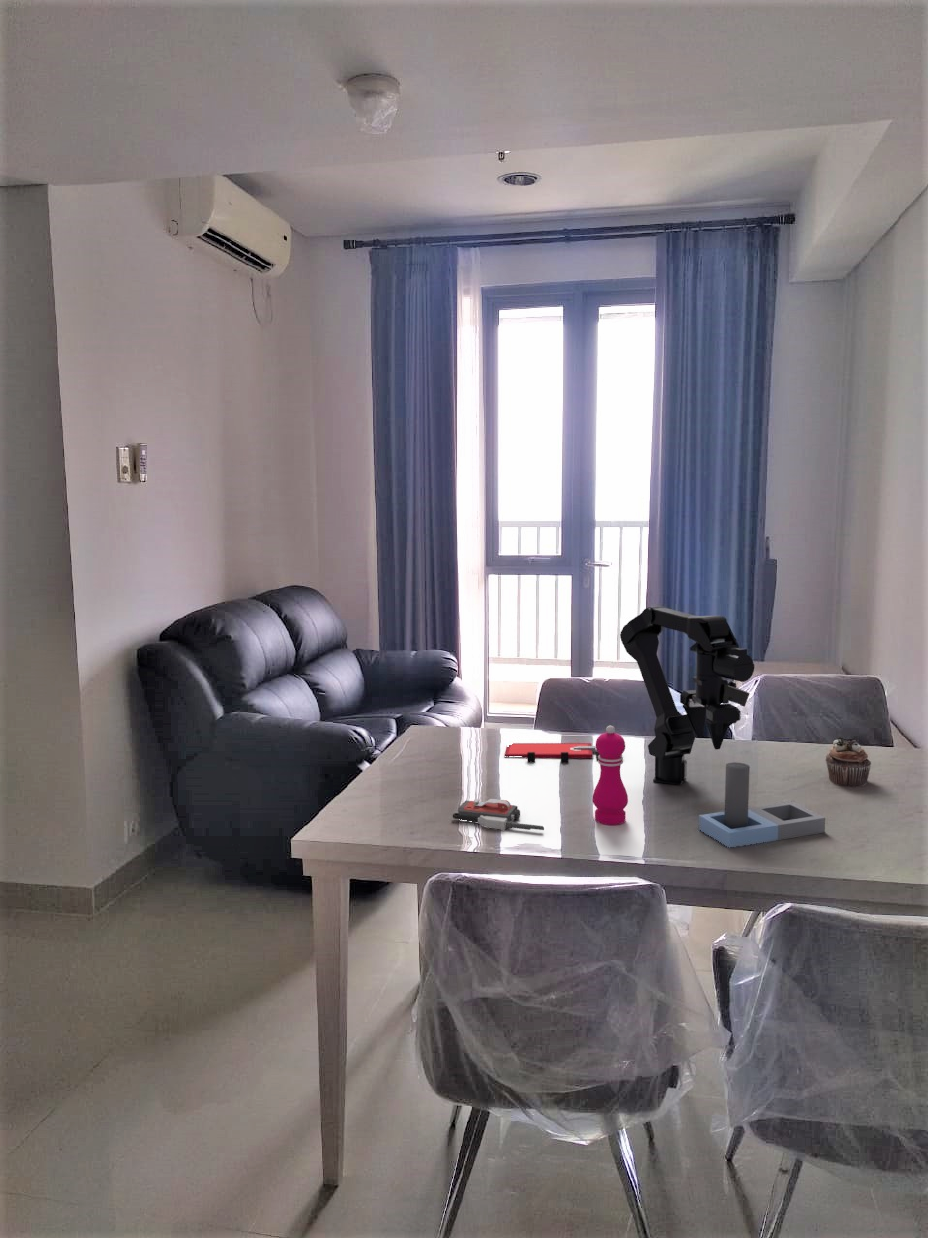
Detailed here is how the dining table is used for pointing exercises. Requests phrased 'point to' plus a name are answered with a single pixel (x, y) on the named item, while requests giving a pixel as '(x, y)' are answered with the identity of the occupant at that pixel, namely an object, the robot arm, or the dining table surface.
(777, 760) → the dining table surface
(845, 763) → the cupcake
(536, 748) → the red board with handle
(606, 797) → the pepper mill
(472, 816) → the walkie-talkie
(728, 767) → the plug
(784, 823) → the two-hole peg board
